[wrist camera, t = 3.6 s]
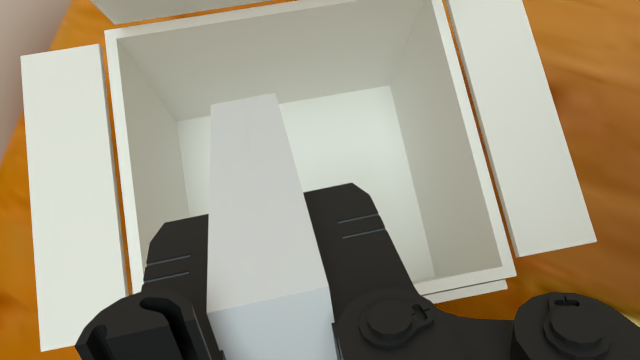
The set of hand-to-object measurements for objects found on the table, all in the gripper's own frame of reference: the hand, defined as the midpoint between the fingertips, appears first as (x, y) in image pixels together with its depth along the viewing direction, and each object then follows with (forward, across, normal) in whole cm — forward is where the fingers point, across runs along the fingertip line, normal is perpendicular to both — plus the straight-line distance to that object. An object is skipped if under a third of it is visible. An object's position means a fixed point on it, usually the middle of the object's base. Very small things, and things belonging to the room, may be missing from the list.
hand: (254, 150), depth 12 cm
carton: (+18, +2, -13) cm, 22 cm away
